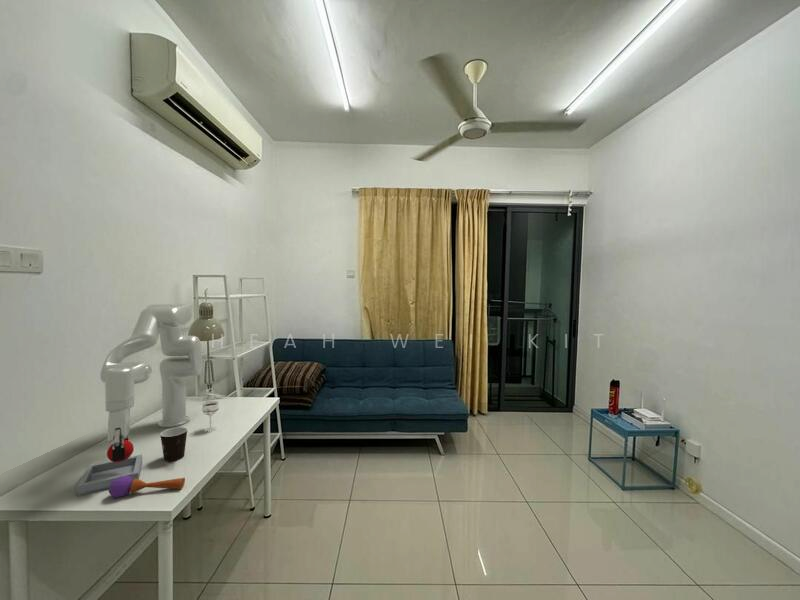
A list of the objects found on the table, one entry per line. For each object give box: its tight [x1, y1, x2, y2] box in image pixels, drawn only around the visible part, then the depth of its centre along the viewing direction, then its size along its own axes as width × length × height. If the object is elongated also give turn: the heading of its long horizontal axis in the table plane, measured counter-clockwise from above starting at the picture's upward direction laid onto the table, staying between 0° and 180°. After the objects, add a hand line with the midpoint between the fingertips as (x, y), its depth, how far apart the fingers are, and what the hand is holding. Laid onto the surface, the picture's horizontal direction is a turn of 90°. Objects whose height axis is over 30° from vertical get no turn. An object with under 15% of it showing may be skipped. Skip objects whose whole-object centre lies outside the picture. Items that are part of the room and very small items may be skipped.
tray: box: [76, 454, 143, 497], centre depth 114 cm, size 15×15×3 cm
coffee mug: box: [159, 426, 188, 463], centre depth 127 cm, size 12×9×10 cm
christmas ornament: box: [106, 437, 135, 462], centre depth 115 cm, size 7×7×10 cm
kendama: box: [108, 476, 186, 498], centre depth 106 cm, size 6×6×20 cm
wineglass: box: [201, 400, 220, 432], centre depth 154 cm, size 7×7×12 cm
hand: (120, 454), depth 115 cm, fingers closed on christmas ornament, 7 cm apart
